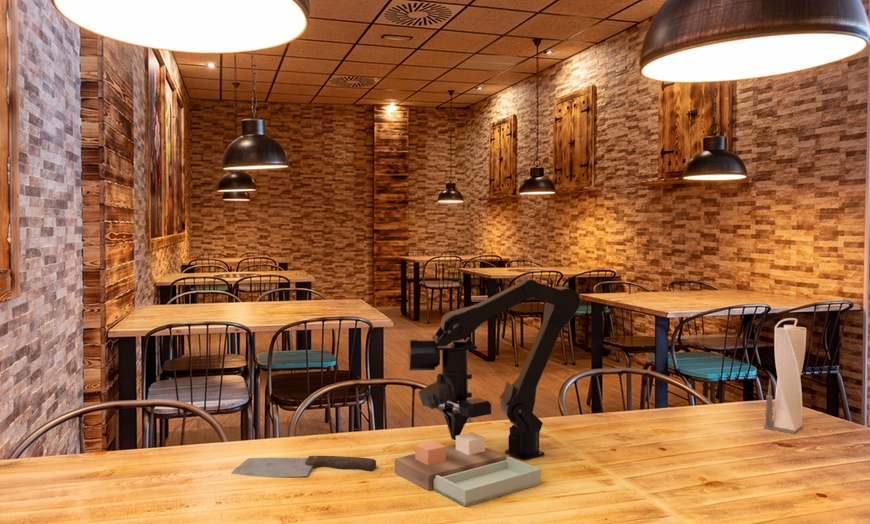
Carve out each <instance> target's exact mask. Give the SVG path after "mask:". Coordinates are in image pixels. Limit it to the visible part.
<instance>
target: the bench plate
mask: <svg viewBox="0 0 870 524" xmlns="http://www.w3.org/2000/svg"><path fill="white" fill-rule="evenodd" d="M504 460H507V455H506V454H505V453H500V452H498V451H496V450H493V449H491V448H489V447H486V446H485V451H484V452H480V453H476V454H472V455H467V454H465V453H462V452H460V451H458V450H456V444H452V445H448V446H446V461H443V462H439V463H435V464H431V465H427V464H424V463H422V462H420V461H418V460H416V459H415V453H414V454H413V453H412V454H408V455H405V456H400V457H399V456H398V457H395V458H394V474H396V475H398V476H399V477H402V478H404V479H405V480H408V481H409V482H411V483H413V484H415V485H417V486H418V487H421V488H422V489H424V490H426V491H427V492H429V491H434V479H435V476H437V475H439V476H441V477H443V476H447V475H451V474H454V473H458V472H462V471H466V470H470V469H474V468H477V467H481V466H485V465H489V464H493V463H497V462H500V461H504Z"/></svg>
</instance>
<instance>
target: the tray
mask: <svg viewBox="0 0 870 524" xmlns="http://www.w3.org/2000/svg"><path fill="white" fill-rule="evenodd" d="M541 471H542V470H541V468H539V467H536V466H533V465H532V464H529V463H526V462H523V461H521V460H518V459H515V458H514V457H511V456H506V460H504V461H500V462H497V463H493V464H489V465H485V466H481V467H477V468H474V469H470V470H466V471H462V472H458V473H454V474H451V475H447V476H443V477H441V476H439V475H437V476H435V479H434V490H433V491H435V492H436V493H438V494H439V495H442V496H444V498H445V497H446V498H447V499H449V500H451V501H453V502H455V503H457V504H458V505H461V506H463V507H464V508H467V507H469V506H474V505H476V504H481V503H483V502H486V501H490V500H493V499H496V498H500V497H503V496H507V495H509V494H513V493H517V492H520V491H523V490H526V489H530V488H532V487H535V486H540V485H541V482H542V481H541V480H542V479H541V475H542V473H541Z"/></svg>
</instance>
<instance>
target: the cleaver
mask: <svg viewBox="0 0 870 524" xmlns="http://www.w3.org/2000/svg"><path fill="white" fill-rule="evenodd" d="M376 467H377V460H376V459H374V458H371V457H370V458H368V457H360V456H359V457H357V456H342V455H341V456H340V455H310V456H308V457H252V458H251V457H249V458H247V459H245V460H244V461H243V462H242V463H240V464H239V465H238V466H237V467H236V468H234V470H233V471H231V472H230V473H231V475H238V476H239V475H240V476H248V477H259V478H297V477H299V478H300V477H302V478H303V477H309V475H310V474H311V472H312V471H313V470H315V469H317V468H332V469H339V470H360V471H367V472H372V471H374V470H375V469H376Z"/></svg>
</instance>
